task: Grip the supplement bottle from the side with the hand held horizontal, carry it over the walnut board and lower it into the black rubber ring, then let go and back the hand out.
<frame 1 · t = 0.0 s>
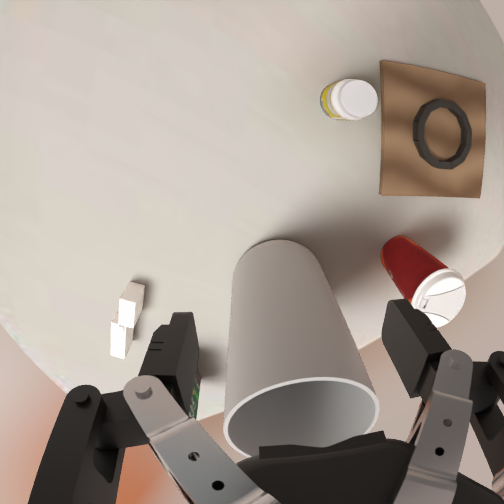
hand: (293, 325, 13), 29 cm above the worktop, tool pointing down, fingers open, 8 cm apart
supplement bottle: (337, 101, 35), on the worktop
coffee box: (189, 363, 52), on the worktop
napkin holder: (135, 309, 48), on the worktop
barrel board: (437, 133, 36), on the worktop
paper cup: (397, 252, 44), on the worktop
cylinder vase: (277, 278, 45), on the worktop
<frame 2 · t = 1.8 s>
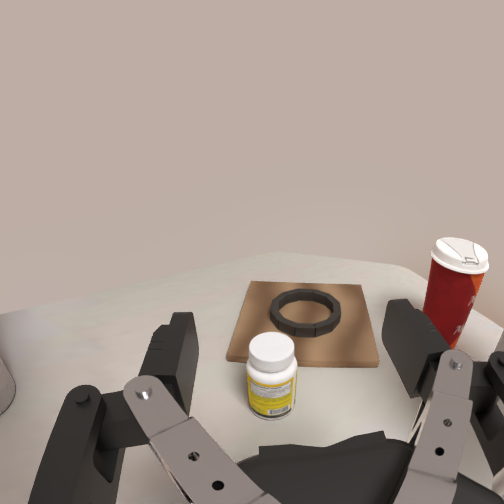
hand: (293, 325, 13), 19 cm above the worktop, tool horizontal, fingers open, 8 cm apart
supplement bottle: (271, 405, 31), on the worktop
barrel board: (305, 321, 43), on the worktop
paper cup: (434, 345, 36), on the worktop
cylinder vase: (495, 449, 20), on the worktop
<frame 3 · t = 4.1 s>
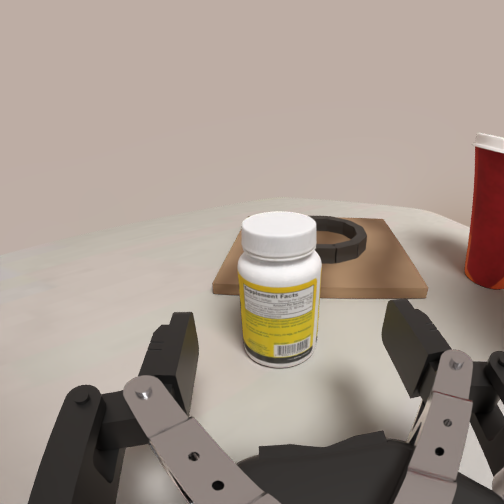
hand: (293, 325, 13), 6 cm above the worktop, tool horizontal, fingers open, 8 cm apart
supplement bottle: (279, 347, 20), on the worktop
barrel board: (319, 252, 33), on the worktop
paper cup: (486, 277, 26), on the worktop
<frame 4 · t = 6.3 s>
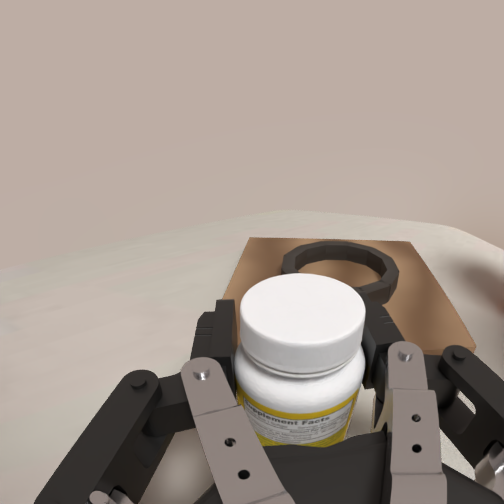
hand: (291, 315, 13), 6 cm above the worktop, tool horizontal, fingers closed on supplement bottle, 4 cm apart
supplement bottle: (292, 446, 13), on the worktop, touching gripper
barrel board: (338, 289, 26), on the worktop
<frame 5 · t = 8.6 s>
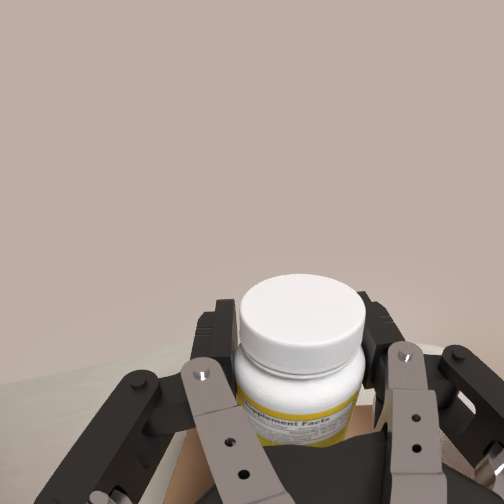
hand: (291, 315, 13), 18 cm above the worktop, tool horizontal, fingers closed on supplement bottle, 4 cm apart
supplement bottle: (292, 446, 13), point 11 cm above the worktop, touching gripper
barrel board: (284, 492, 20), on the worktop
when the fingers open (8 cm above the worktop, at t = 11.1 s): supplement bottle stays where it is, resting on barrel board.
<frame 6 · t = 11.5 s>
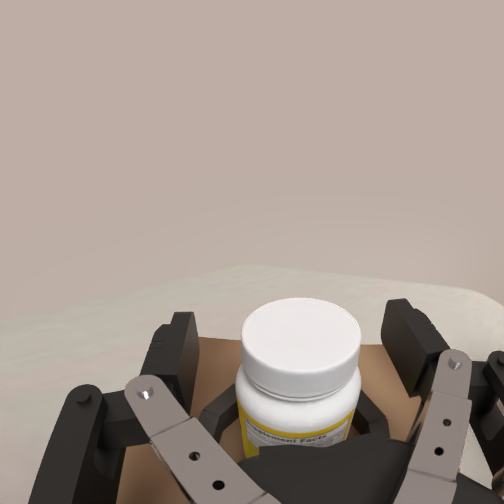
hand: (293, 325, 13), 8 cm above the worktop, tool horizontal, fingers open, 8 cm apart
supplement bottle: (291, 457, 14), point 1 cm above the worktop, touching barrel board
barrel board: (290, 461, 14), on the worktop
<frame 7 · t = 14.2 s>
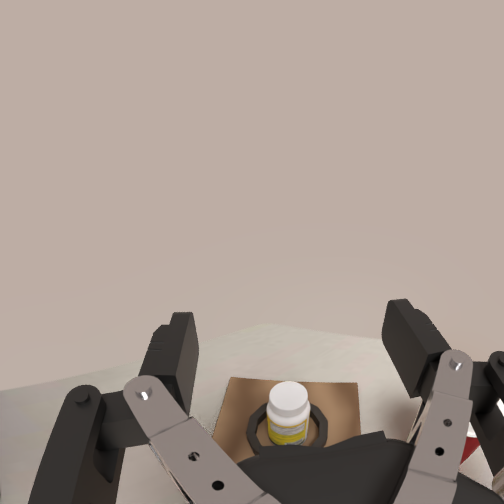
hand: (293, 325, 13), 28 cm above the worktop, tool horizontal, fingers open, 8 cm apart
supplement bottle: (287, 435, 34), point 1 cm above the worktop, touching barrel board
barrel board: (287, 437, 34), on the worktop
paper cup: (429, 466, 27), on the worktop
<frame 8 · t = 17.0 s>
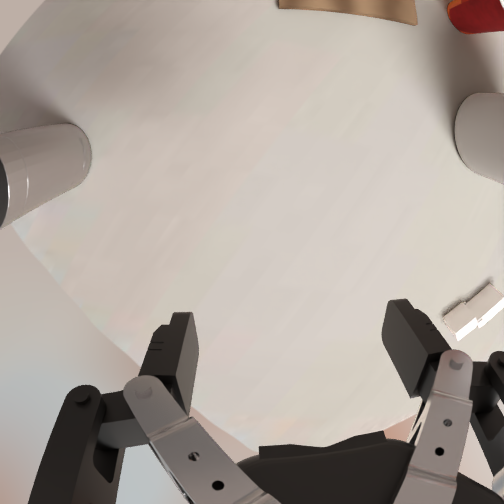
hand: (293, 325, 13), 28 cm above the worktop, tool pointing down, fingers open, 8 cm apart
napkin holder: (464, 301, 47), on the worktop
paper cup: (460, 17, 28), on the worktop
cylinder vase: (481, 133, 35), on the worktop
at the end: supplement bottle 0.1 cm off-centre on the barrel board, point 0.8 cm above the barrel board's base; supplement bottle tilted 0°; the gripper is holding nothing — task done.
